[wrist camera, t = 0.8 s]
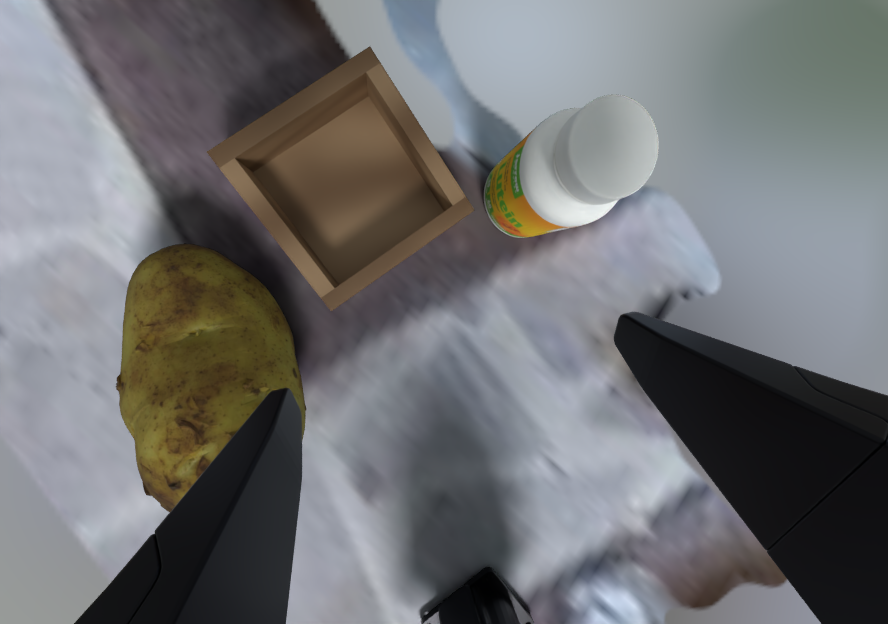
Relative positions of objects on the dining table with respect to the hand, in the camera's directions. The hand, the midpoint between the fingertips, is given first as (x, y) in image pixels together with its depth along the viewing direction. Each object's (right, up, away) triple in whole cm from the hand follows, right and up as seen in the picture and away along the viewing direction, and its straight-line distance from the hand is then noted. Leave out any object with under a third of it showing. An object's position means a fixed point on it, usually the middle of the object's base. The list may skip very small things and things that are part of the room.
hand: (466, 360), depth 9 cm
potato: (-13, -1, +12) cm, 18 cm away
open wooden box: (-6, +9, +12) cm, 16 cm away
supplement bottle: (+5, +9, +14) cm, 17 cm away
